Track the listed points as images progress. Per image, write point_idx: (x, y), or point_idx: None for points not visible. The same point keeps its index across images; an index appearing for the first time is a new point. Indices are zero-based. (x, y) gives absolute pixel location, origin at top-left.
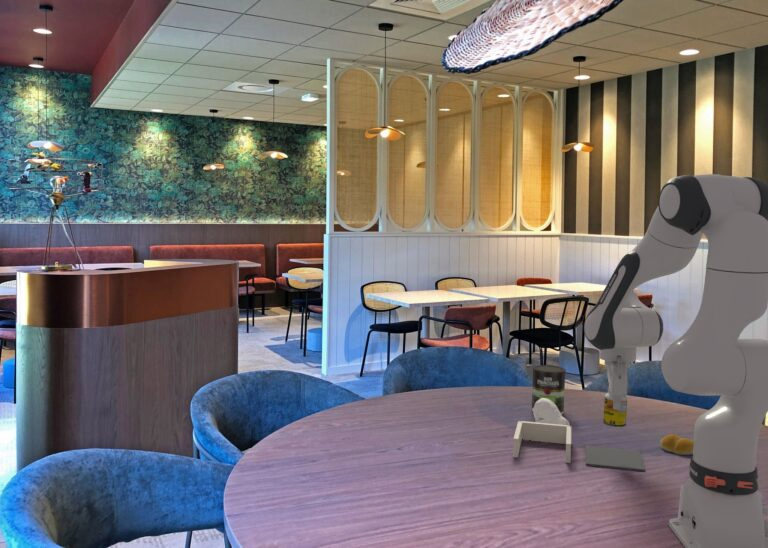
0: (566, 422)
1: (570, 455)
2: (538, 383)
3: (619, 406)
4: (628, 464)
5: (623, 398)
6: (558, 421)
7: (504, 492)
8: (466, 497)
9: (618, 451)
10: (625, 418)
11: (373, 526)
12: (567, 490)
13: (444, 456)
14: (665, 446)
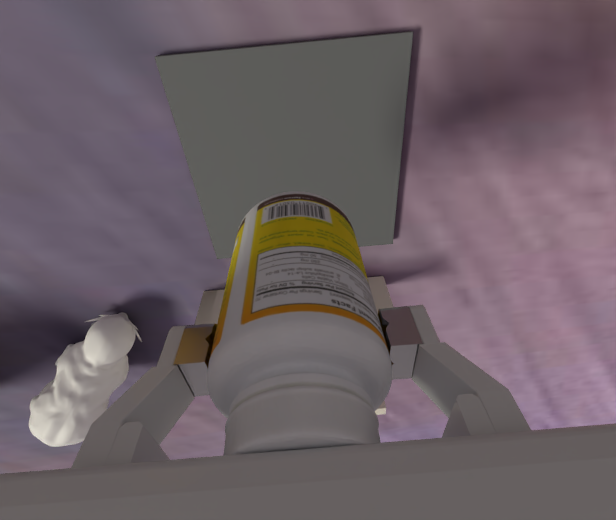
0: (115, 340)
1: (388, 292)
2: None
3: (428, 324)
4: (365, 109)
5: (372, 352)
6: (122, 356)
7: (582, 354)
8: (598, 388)
9: (221, 152)
10: (322, 221)
11: None
12: (587, 263)
13: (403, 436)
14: None
